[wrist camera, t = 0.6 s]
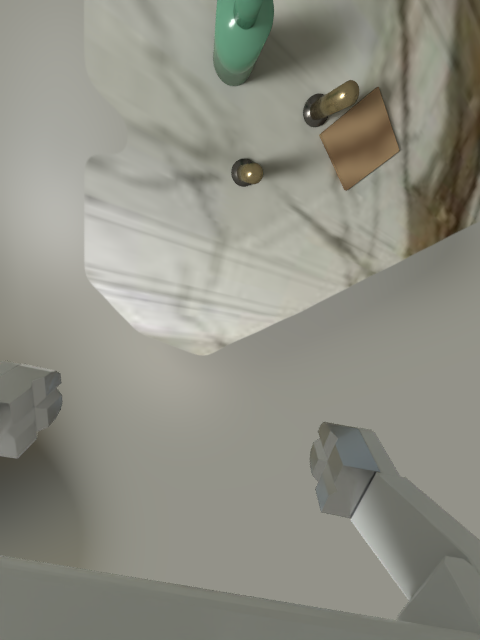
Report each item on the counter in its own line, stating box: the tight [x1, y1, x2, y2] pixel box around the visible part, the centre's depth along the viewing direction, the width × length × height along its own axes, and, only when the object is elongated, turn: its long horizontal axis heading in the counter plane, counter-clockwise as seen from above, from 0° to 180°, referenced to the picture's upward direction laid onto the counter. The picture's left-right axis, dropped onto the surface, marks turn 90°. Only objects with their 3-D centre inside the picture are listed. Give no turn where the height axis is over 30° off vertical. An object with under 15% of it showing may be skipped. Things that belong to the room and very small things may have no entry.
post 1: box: [231, 159, 263, 187], centre depth 39 cm, size 4×4×11 cm
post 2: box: [303, 80, 359, 127], centre depth 36 cm, size 4×4×11 cm
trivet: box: [319, 87, 400, 191], centre depth 43 cm, size 10×10×1 cm
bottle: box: [213, 0, 274, 86], centre depth 30 cm, size 6×6×17 cm
